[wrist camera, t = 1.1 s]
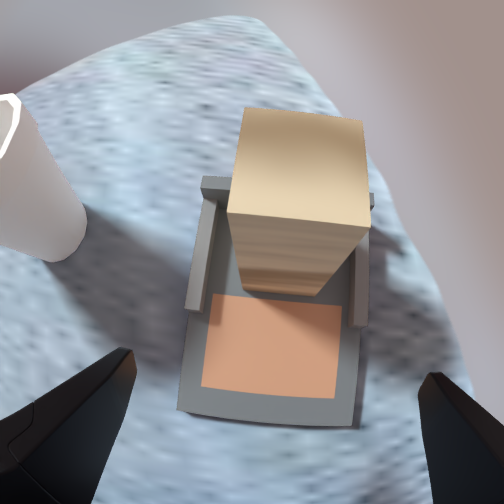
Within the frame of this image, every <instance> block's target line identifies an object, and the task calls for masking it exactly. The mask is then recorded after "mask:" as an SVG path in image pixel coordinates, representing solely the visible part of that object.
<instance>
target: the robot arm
mask: <svg viewBox="0 0 504 504" xmlns="http://www.w3.org/2000/svg"><path fill="white" fill-rule="evenodd" d="M136 375H137V367H136V363H135V359H134V354H133V351H132V350H130V349H127V348H122V347H119V348H117V349H115V350H114V351H112V352H111V353H109V354H107V355H106V356H104V357H103V358H101V359H100V360H98V361H97V362H95V363H93V364H92V365H90V366H89V367H87V368H86V369H84V370H82V371H81V372H79V373H78V374H76V375H75V376H73V377H71V378H70V379H68V380H67V381H65V382H63V383H62V384H60V385H59V386H57V387H56V388H54V389H52V390H51V391H49V392H48V393H46V394H45V395H43V396H41V397H40V398H38V399H37V400H35V401H34V402H32V403H30V404H28V405H27V406H25V407H24V408H22V409H20V410H19V411H17V412H15V413H14V414H12V415H10V416H8V417H6V418H4V419H2V420H0V504H91V502H92V500H93V497H94V494H95V491H96V489H97V486H98V483H99V481H100V478H101V475H102V473H103V470H104V468H105V465H106V462H107V460H108V457H109V455H110V452H111V450H112V447H113V445H114V442H115V440H116V437H117V435H118V432H119V430H120V427H121V425H122V422H123V420H124V417H125V414H126V410H127V407H128V403H129V400H130V396H131V393H132V389H133V386H134V382H135V379H136ZM418 401H419V410H420V419H421V429H422V437H423V443H424V448H425V454H426V459H427V465H428V471H429V477H430V483H431V490H432V497H433V504H504V426H503V425H502V424H501V423H500V422H499V421H498V420H497V419H495V418H494V417H493V416H492V415H491V414H490V413H489V412H487V411H486V410H485V409H484V408H483V407H481V406H480V405H479V404H478V403H477V402H476V401H475V400H473V399H472V398H471V397H470V396H469V395H468V394H466V393H465V392H464V391H463V390H462V389H461V388H459V387H458V386H457V385H456V384H455V383H453V382H452V381H451V380H450V379H449V378H448V377H446V376H445V375H444V374H443V373H441V372H430V373H428V374H427V376H426V378H425V380H424V382H423V383H422V385H421V387H420V389H419V392H418Z"/></svg>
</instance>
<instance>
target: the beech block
mask: <svg viewBox="0 0 504 504" xmlns="http://www.w3.org/2000/svg"><path fill="white" fill-rule="evenodd" d="M227 217H228V222H229V227H230V231H231V236H232V241H233V246H234V251H235V256H236V261H237V265H238V270H239V275H240V280H241V284H242V289H243V290H249V291H259V292H269V293H279V294H290V295H301V296H312V297H315V296H316V294H317V293H318V292H319V291H320V290H321V289H322V287H323V286H324V285H325V284H326V283H327V281H328V280H329V279H330V278H331V277H332V275H333V274H334V273H335V272H336V271H337V269H338V268H339V267H340V266H341V264H342V263H343V262H344V261H345V260H346V258H347V257H348V256H349V255H350V253H351V252H352V251H353V250H354V248H355V247H356V246H357V245H358V243H359V242H360V241H361V240H362V238H363V237H364V236H365V234H366V233H367V232H368V231H369V229H370V228H371V217H370V198H369V183H368V171H367V160H366V149H365V140H364V131H363V123H362V121H360V120H353V119H348V118H341V117H335V116H328V115H320V114H313V113H304V112H295V111H285V110H274V109H262V108H246V107H245V108H244V114H243V119H242V125H241V130H240V136H239V141H238V147H237V153H236V159H235V165H234V170H233V176H232V182H231V188H230V194H229V201H228V207H227Z"/></svg>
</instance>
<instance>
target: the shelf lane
mask: <svg viewBox="0 0 504 504" xmlns="http://www.w3.org/2000/svg"><path fill="white" fill-rule="evenodd" d="M231 182H232V178H231V177H217V176H203V178H202V182H201V187H200V188H201V192H202V195H203V198H204V199H203V204H202V209H201V214H200V219H199V225H198V230H197V235H196V241H195V246H194V252H193V258H192V264H191V269H190V275H189V282H188V288H187V294H186V300H185V307H184V309H186V310H187V311H188V312H189V315H188V322H187V329H186V336H185V344H184V351H183V359H182V367H181V375H180V383H179V392H178V401H177V410H178V411H184V412H189V413H195V414H201V415H207V416H214V417H220V418H228V419H235V420H244V421H253V422H263V423H275V424H290V425H310V426H352V419H353V411H354V403H355V394H356V385H357V375H358V363H359V350H360V335H361V328H363V327H366V326H368V308H369V231H368V232H367V233H366V234H365V236H364V237H363V238H362V240H361V241H360V242H359V243H358V245H357V246H356V247H355V248H354V250H353V251H352V252H351V253H350V255H349V256H348V257H347V258H346V260H345V261H344V262H343V263H342V264H341V266H340V267H339V268H338V269H337V271H336V272H335V273H334V274H333V275H332V277H331V278H330V279H329V280H328V281H327V283H326V284H325V285H324V286H323V287H322V289H321V290H320V291H319V292H318V293H317V294H316V296H315V297H312V296H301V295H290V294H279V293H269V292H259V291H249V290H243V289H242V284H241V280H240V275H239V270H238V265H237V261H236V256H235V251H234V246H233V241H232V236H231V231H230V227H229V222H228V217H227V207H228V201H229V194H230V188H231ZM369 198H370V211H371V210H372V208H373V207H374V193H369Z"/></svg>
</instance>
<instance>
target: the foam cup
mask: <svg viewBox="0 0 504 504" xmlns="http://www.w3.org/2000/svg"><path fill="white" fill-rule="evenodd" d="M87 222H88V221H87V216H86V211H85V208H84V207H83V204H82V203H81V201H80V200H79V198H78V197H77V195H76V194H75V192H74V190H73V189H72V187H71V186H70V184H69V182H68V181H67V179H66V178H65V176H64V174H63V173H62V171H61V169H60V168H59V166H58V164H57V163H56V161H55V159H54V158H53V156H52V154H51V152H50V151H49V149H48V147H47V145H46V144H45V142H44V140H43V138H42V137H41V135H40V133H39V131H38V123H37V122H36V121H35V119H34V118H33V117H32V115H31V114H30V113H29V111H28V110H27V109H26V107H25V106H24V105H23V103H22V102H21V101H20V100H19V99H18V98H17V97H16V96H15V95H14V94H13V93H11V94H5V95H0V245H2V246H5V247H8V248H10V249H13V250H16V251H19V252H22V253H25V254H27V255H30V256H33V257H36V258H39V259H42V260H45V261H49V262H52V263H53V262H57V261H61V260H65V259H66V258H67V257H68V256H70V255H71V254H72V253H73V252H74V251H76V250H77V248H78V246H79V244H80V243H81V241H82V239H83V238H84V236H85V231H86V226H87Z"/></svg>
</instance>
